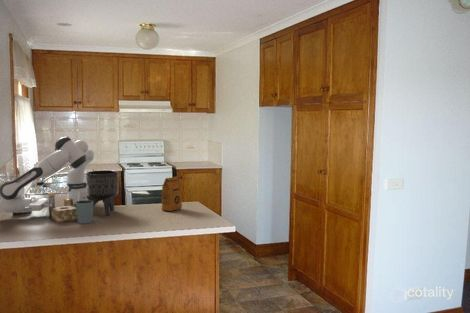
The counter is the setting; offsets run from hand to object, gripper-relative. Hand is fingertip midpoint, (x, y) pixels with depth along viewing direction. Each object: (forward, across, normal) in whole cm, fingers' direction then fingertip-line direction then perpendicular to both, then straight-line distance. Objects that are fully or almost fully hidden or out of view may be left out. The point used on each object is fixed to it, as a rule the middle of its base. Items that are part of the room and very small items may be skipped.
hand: (53, 204), depth 261 cm
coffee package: (+72, +9, +8) cm, 73 cm away
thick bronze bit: (+8, +5, +8) cm, 12 cm away
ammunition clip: (-21, +12, +8) cm, 26 cm away
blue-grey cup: (+21, -15, +8) cm, 27 cm away
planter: (+29, +6, +8) cm, 30 cm away
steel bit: (-1, 0, +8) cm, 8 cm away
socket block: (+8, -8, +8) cm, 14 cm away
